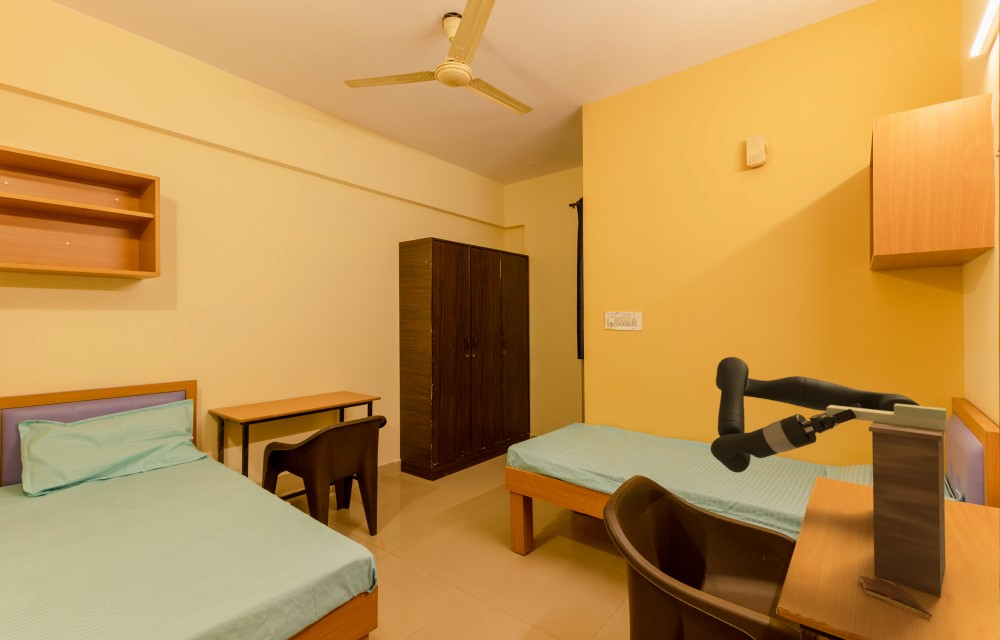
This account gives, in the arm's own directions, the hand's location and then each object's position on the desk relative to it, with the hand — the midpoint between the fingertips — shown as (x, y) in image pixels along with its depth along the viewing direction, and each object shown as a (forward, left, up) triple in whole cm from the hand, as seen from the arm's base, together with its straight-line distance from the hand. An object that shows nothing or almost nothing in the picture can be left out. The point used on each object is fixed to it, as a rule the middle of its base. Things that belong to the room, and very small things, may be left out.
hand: (857, 410), depth 102 cm
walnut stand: (0, +9, -34) cm, 35 cm away
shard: (+14, +8, -35) cm, 38 cm away
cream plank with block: (0, +4, -2) cm, 5 cm away
